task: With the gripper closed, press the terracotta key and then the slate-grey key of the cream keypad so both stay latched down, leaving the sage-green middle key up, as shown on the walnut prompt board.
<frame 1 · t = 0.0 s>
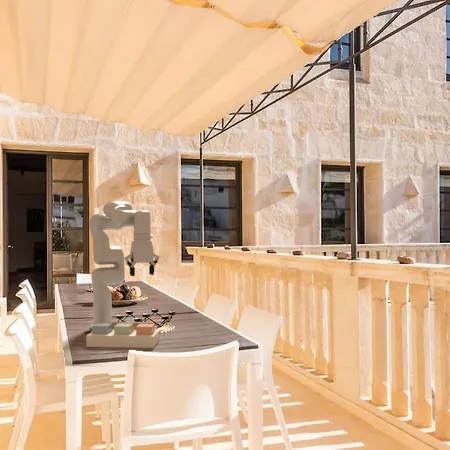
hand: (142, 275, 232), 31 cm above the table, tool pointing down, fingers open, 9 cm apart
key sage: (123, 329, 231), point 6 cm above the table, slide at 0.0 cm
key slate: (102, 329, 232), point 7 cm above the table, slide at 0.0 cm
key terracotta: (145, 329, 230), point 6 cm above the table, slide at 0.0 cm
keypad: (123, 343, 231), on the table
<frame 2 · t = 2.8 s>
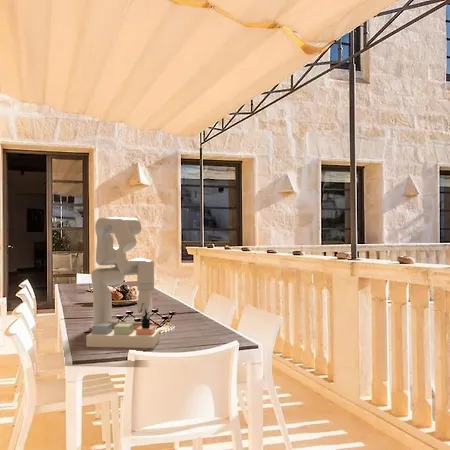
hand: (145, 327, 230), 7 cm above the table, tool pointing down, fingers closed
key terracotta: (145, 332, 230), point 5 cm above the table, slide at 1.1 cm, touching gripper
everything else where it was.
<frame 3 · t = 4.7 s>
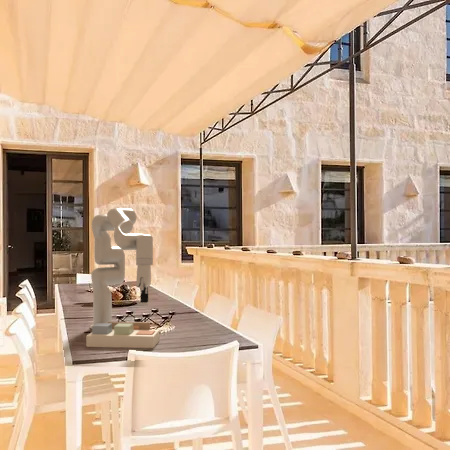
hand: (144, 302, 230), 19 cm above the table, tool pointing down, fingers closed
key terracotta: (145, 336, 230), point 3 cm above the table, slide at 3.1 cm
everything else where it was.
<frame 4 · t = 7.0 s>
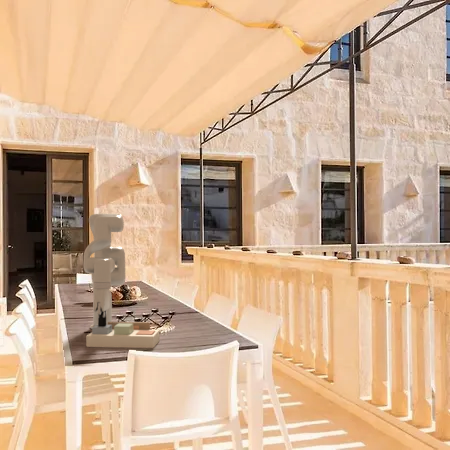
hand: (102, 326, 231), 8 cm above the table, tool pointing down, fingers closed
key slate: (102, 330, 232), point 6 cm above the table, slide at 0.7 cm, touching gripper
everything else where it was.
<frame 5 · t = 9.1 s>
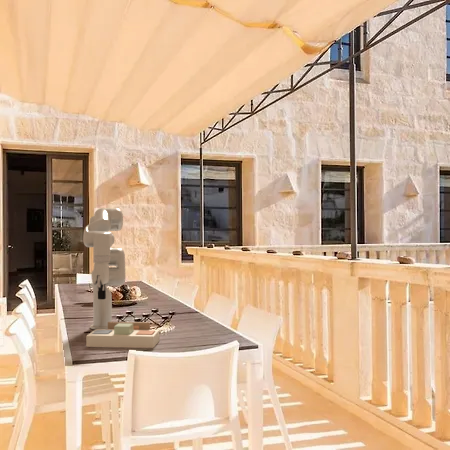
hand: (101, 298, 234), 20 cm above the table, tool pointing down, fingers closed
key slate: (102, 335, 232), point 3 cm above the table, slide at 3.2 cm
everything else where it was.
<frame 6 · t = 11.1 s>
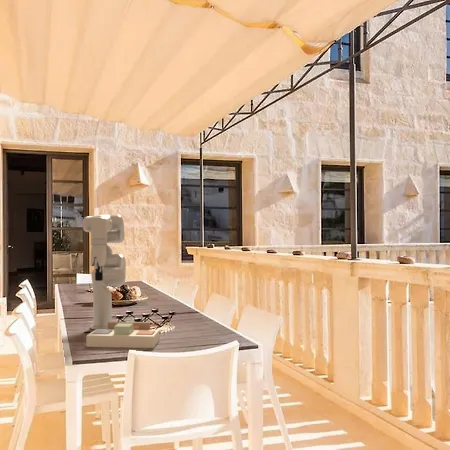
hand: (98, 280, 246), 27 cm above the table, tool pointing down, fingers closed
nothing on the table moved.
at the end: key terracotta slide at 3.1 cm; key slate slide at 3.2 cm; key sage slide at 0.0 cm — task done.
